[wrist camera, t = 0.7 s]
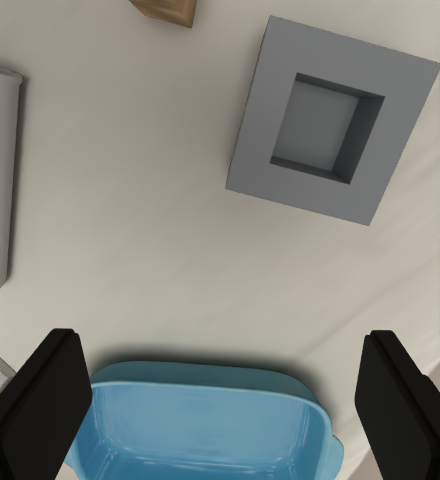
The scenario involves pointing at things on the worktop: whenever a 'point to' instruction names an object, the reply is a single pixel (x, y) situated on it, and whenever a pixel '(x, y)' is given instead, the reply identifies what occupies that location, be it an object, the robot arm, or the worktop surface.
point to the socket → (326, 120)
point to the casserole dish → (202, 426)
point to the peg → (168, 10)
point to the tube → (7, 157)
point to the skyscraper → (5, 374)
